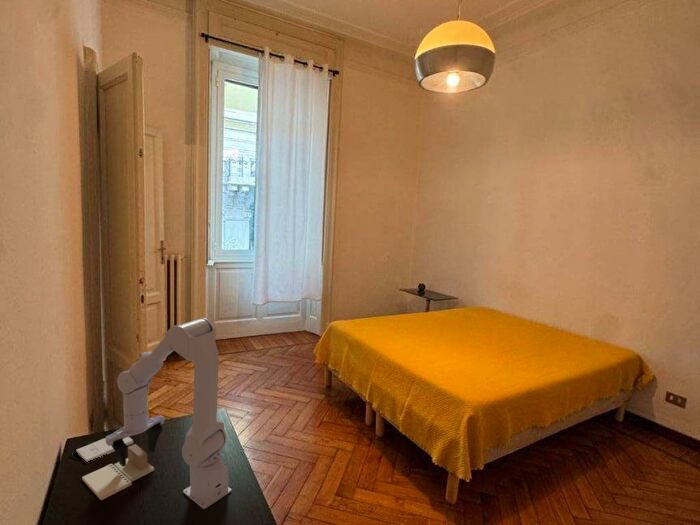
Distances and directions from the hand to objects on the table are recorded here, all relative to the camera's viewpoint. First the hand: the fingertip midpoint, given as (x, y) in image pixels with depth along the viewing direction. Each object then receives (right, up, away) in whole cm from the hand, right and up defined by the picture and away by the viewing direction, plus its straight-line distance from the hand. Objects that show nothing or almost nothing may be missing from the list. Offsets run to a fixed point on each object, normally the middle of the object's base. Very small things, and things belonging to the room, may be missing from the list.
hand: (137, 457), depth 104 cm
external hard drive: (-15, -2, +9) cm, 17 cm away
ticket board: (-5, -3, -6) cm, 8 cm away
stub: (-1, -3, -1) cm, 3 cm away
